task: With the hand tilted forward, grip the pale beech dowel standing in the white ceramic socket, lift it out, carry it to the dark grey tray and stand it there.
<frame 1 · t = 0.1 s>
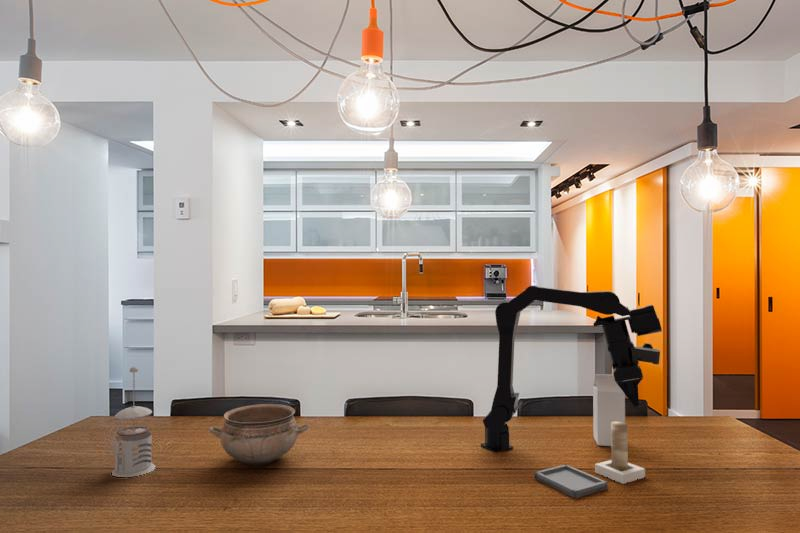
hand: (635, 401, 128), 15 cm above the table, tool pointing down, fingers open, 9 cm apart
milk carton: (609, 443, 144), on the table
socket: (619, 474, 121), on the table
tray: (570, 483, 116), on the table
cooking pot: (260, 461, 131), on the table
dowel: (619, 449, 121), in the socket
french press: (130, 472, 124), on the table
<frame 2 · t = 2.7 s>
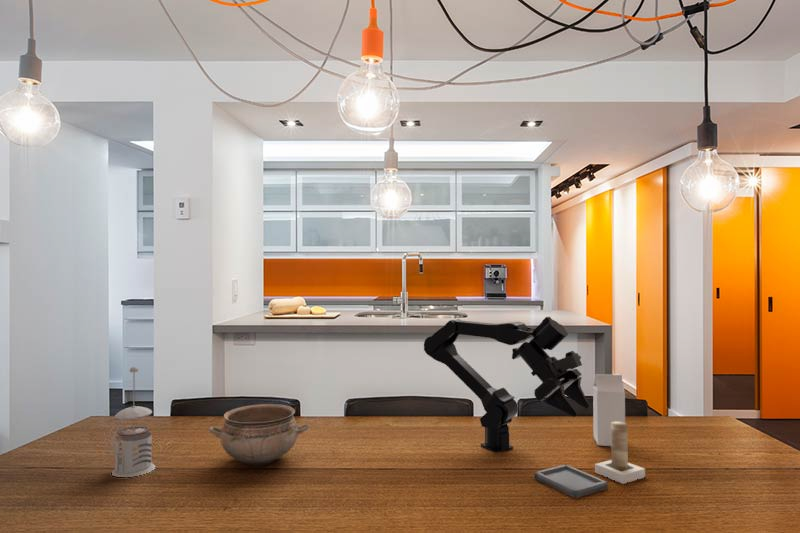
hand: (582, 411, 126), 13 cm above the table, tool tilted 45°, fingers open, 9 cm apart
nothing on the table moved.
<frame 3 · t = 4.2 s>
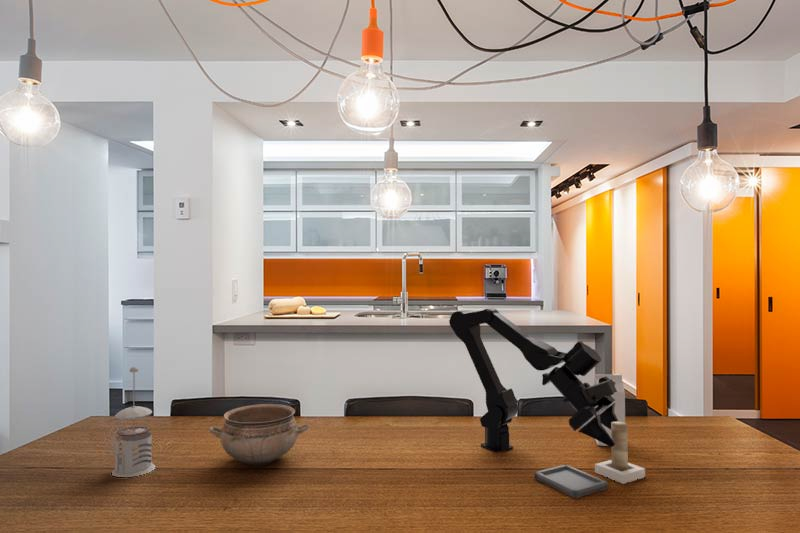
hand: (618, 440, 121), 8 cm above the table, tool tilted 45°, fingers open, 9 cm apart
nothing on the table moved.
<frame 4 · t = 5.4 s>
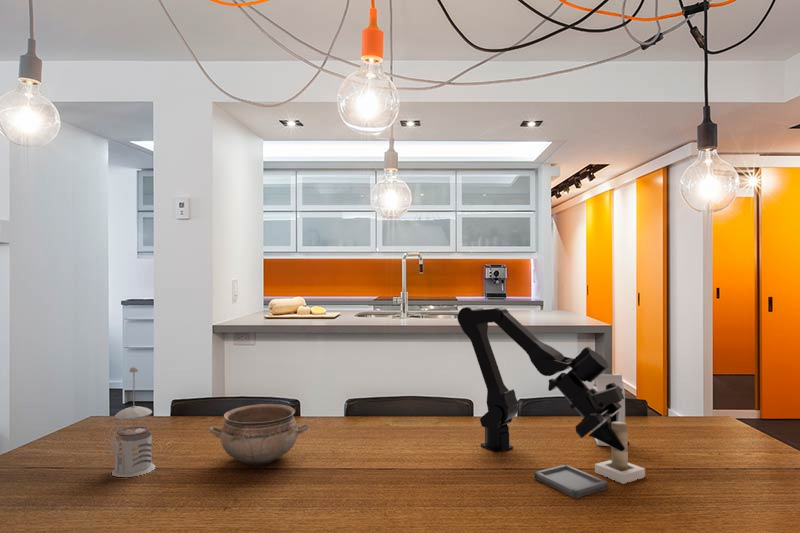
hand: (625, 447, 120), 7 cm above the table, tool tilted 45°, fingers closed on dowel, 3 cm apart
dowel: (619, 449, 121), in the socket, touching gripper
everything else where it was.
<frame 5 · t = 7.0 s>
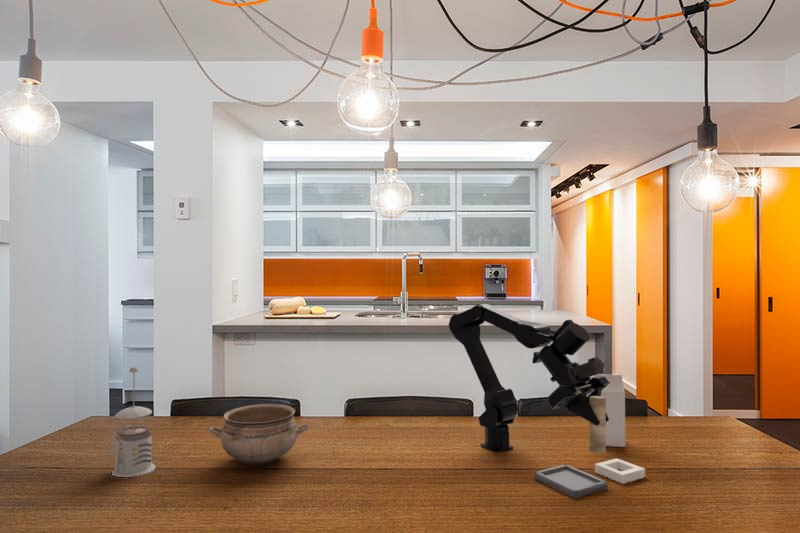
hand: (603, 422, 117), 13 cm above the table, tool tilted 45°, fingers closed on dowel, 3 cm apart
dowel: (597, 424, 118), point 13 cm above the table, touching gripper
everything else where it was.
when the fingers open (8 cm above the table, at t = 8.8 s): dowel stays where it is, resting on tray.
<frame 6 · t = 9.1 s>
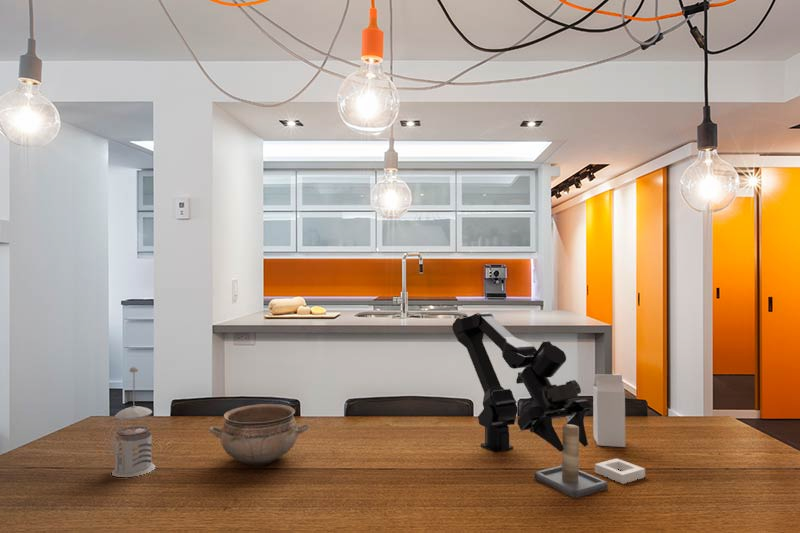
hand: (574, 448, 115), 8 cm above the table, tool tilted 45°, fingers open, 7 cm apart
dowel: (570, 453, 116), point 7 cm above the table, touching tray
everything else where it was.
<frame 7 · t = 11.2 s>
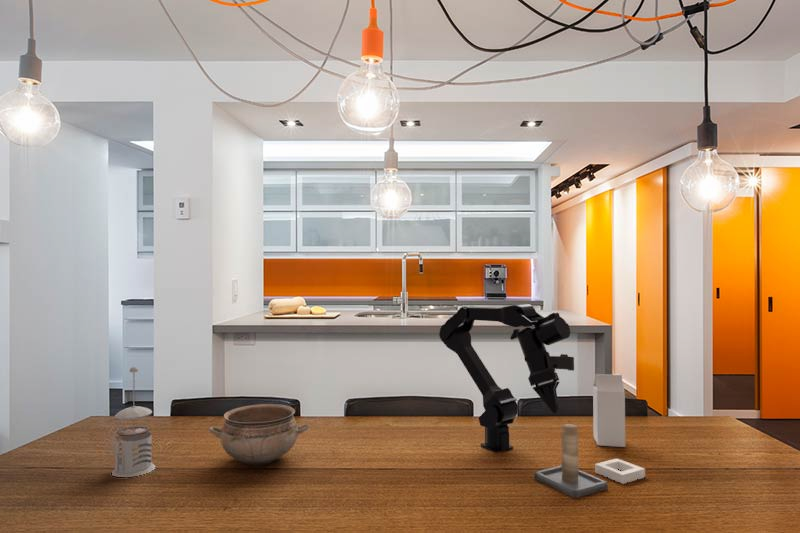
hand: (556, 412, 126), 13 cm above the table, tool tilted 25°, fingers open, 9 cm apart
nothing on the table moved.
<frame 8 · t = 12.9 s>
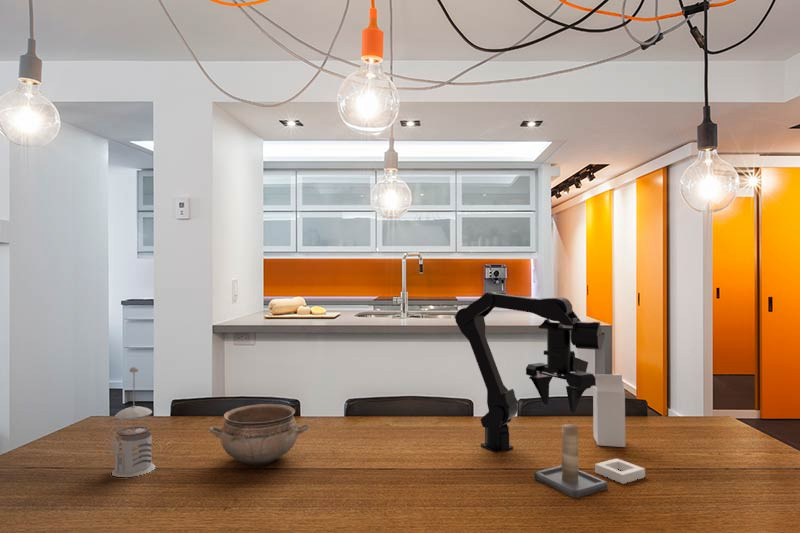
hand: (559, 408, 131), 13 cm above the table, tool pointing down, fingers open, 9 cm apart
nothing on the table moved.
at the end: dowel inside the target area on the tray (0.0 cm from its centre), point 6.8 cm above the tray's base; dowel tilted 0°; the gripper is holding nothing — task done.
